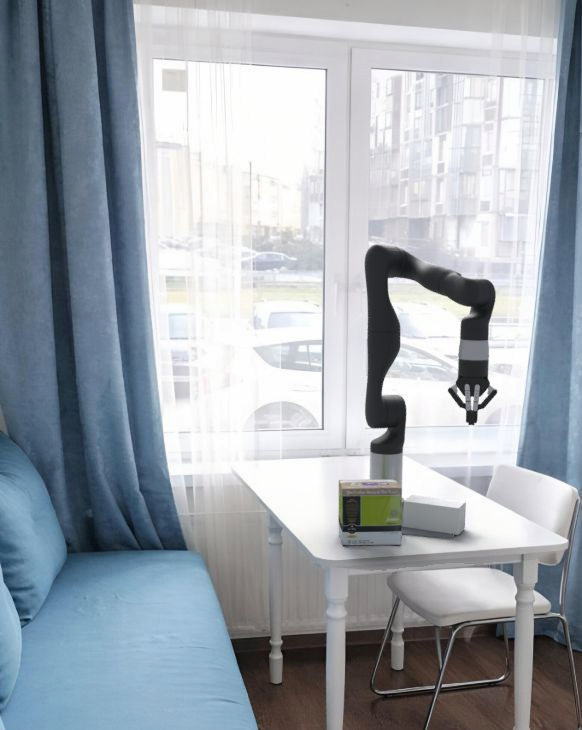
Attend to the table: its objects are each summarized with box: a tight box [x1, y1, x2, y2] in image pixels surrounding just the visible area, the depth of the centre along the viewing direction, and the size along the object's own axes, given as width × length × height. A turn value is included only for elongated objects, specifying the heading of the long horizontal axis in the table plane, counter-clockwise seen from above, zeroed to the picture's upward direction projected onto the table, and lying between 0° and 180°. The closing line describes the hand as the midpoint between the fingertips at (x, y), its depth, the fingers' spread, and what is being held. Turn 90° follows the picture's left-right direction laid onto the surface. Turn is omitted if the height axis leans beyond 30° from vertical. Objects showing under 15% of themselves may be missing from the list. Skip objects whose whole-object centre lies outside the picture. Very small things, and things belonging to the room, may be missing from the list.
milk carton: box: [402, 494, 467, 536], centre depth 220 cm, size 7×7×19 cm
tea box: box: [338, 479, 403, 546], centre depth 209 cm, size 15×10×15 cm, turn 92°
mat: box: [402, 526, 455, 540], centre depth 219 cm, size 11×19×1 cm, turn 75°
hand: (471, 424), depth 212 cm, fingers closed
